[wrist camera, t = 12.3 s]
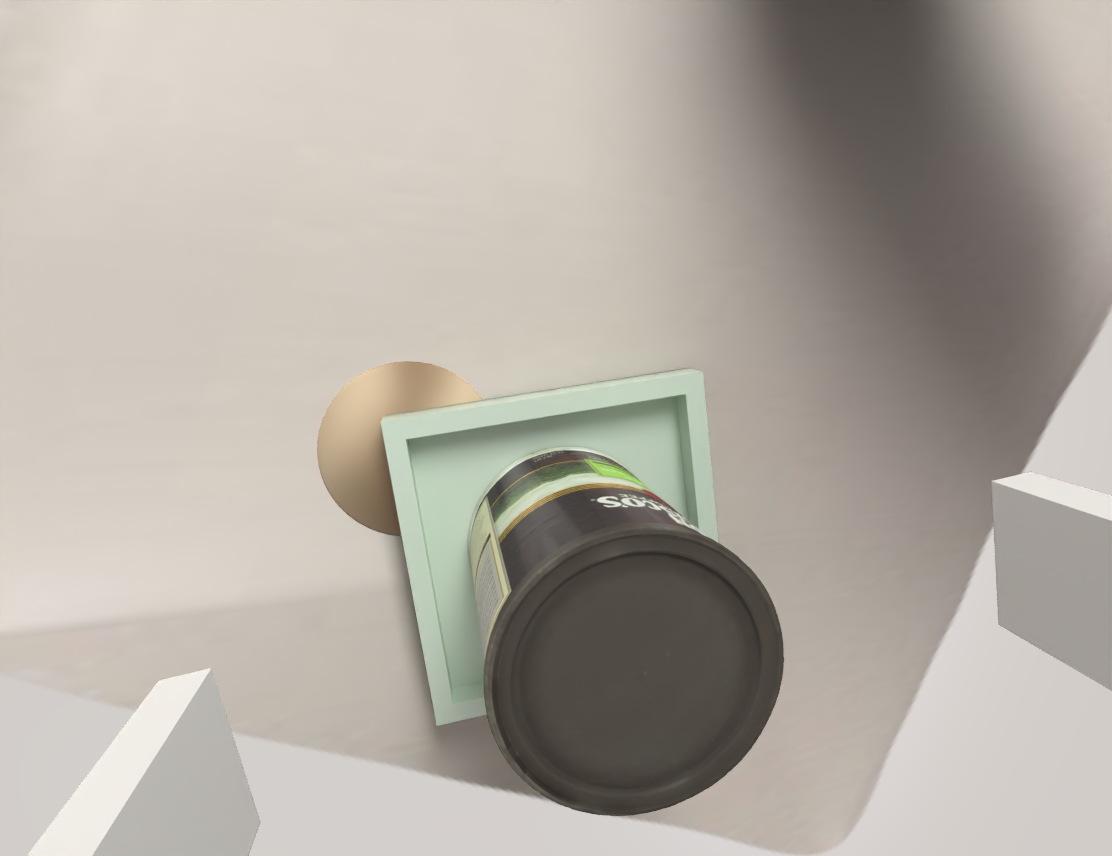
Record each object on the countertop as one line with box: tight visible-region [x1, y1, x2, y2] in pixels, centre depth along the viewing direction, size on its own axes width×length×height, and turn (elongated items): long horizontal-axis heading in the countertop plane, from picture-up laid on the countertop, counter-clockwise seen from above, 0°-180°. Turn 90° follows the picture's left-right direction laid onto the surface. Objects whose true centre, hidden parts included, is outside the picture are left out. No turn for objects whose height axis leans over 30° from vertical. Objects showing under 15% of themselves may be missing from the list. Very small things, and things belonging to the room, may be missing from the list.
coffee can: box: [468, 447, 784, 816], centre depth 30 cm, size 10×10×14 cm
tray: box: [381, 368, 719, 726], centre depth 36 cm, size 16×16×2 cm
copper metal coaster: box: [317, 362, 483, 536], centre depth 35 cm, size 9×9×1 cm
